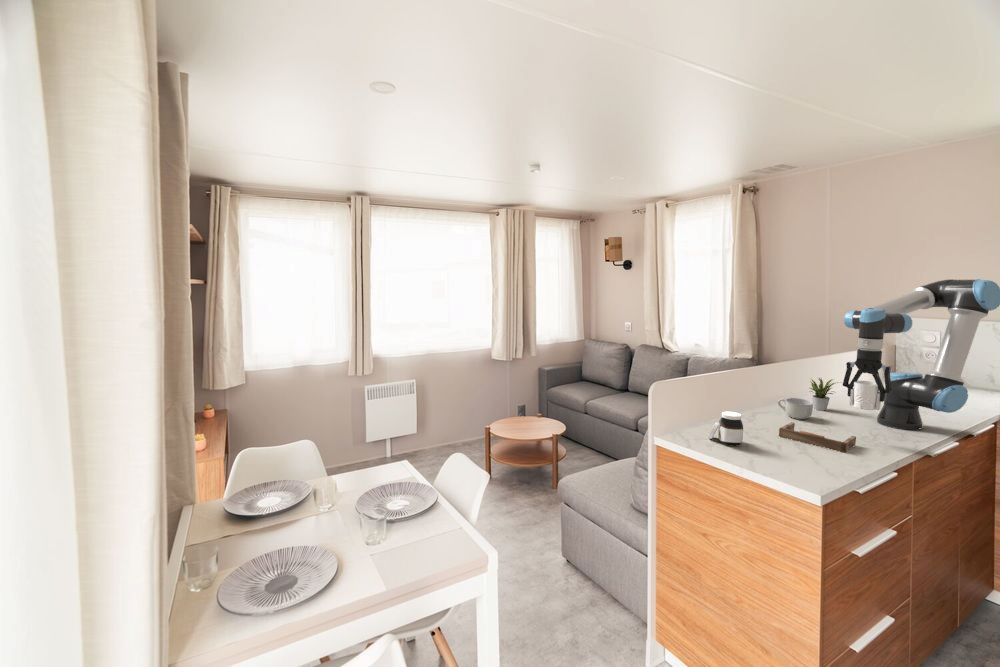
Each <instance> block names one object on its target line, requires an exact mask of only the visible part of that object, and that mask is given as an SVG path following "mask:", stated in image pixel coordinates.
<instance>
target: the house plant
mask: <svg viewBox="0 0 1000 667" xmlns="http://www.w3.org/2000/svg"><path fill="white" fill-rule="evenodd" d="M810 380H811V381H809V382H810V383H811V384H810V385H811V387H809V389H810V390H809V392H812V393H813V394H814V395H812V397H811V398H812V402H813V408H814V409H813V410H815V409H816V411H819V410H823V411H822V412H825V411H824V410H826V411H827V409H828V406H829V402H830V397H829V396H827V395H834V394H837V393H836V391H834V390H832V386H834V385H835V384H838V383H841V384H842V382H841V381H840V382H837V381H836V382H832V381H834V380H835V378H831V379H829V380H828V381H827V382H825V383H826V384H825V386H824V380H823V379H822V377H818V381H819V384H817V382H816V381H814V380H813V379H812V378H810ZM830 390H832V391H830Z"/></svg>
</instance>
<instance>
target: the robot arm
mask: <svg viewBox="0 0 1000 667" xmlns="http://www.w3.org/2000/svg"><path fill="white" fill-rule="evenodd" d="M999 307H1000V286H999V284H997V283H996V282H995V281H993V280H990V279H987V280H986V279H980V278H979V279H943V280H938V281H935V282H931V283H928V284H924V285H921V286H919V287H916V288H914V289H912V290H911V292H908V293H906V294H904V295H901V296H898V297H895V298H893V299H890V300H887V301H884V302H882V303H879V304H876V305H873V306H870V307H867V308H865V309H862V310H850V311H849V310H848V311H847V312H846V313H845V314H844V316H843V324H844V325H845V327H847V328H849V329H854V330H858V338H857V348H858V349H857V351H856V360H855V361H847V362H846V363H845V364H846V365H845V366H846V370H845V374H844V378H843V382H842V387H845V388H847V397H849V398H850V399H849V406H854V382H857V381H859V379H860V377H861V376H862V374H869V375H870V374H871V376H872V377H873V379H874V382H876V384H877V385H878V389H879V393H877V401H876V409H875V410H876V411H879V410H880V411H879V412H878V415H877V418H876V421H877V422H876V423H878V424H880V425H882V424H883V426H885V425H886V426H885V427H889V426H890V428H893V427H895V428H894V429H899V428H901V430H906V429H919V428H922V429H923V424H924V423H923V420H922V417H921V413H920V410H919V409H920V407H921V408H926V409H930V410H934V411H937V412H943V413H947V414H948V413H949V414H950V413H955V412H957V411H959V410H960V409H962V408H963V407H964V406H965V405H966V403H967V401H968V399H969V394H968V393H969V392H968V389H967V388H966V387H965V386H964V384H965V382H964V380H963V379H962V373H963V370H964V368H965V365H966V361H967V359H968V356H969V353H970V350H971V348H972V344H973V342H974V339H975V336H976V334H977V330H978V327H979V324H980V322H981V319H984V318H985V317H988V314H989V311H994V310H997V309H998V308H999ZM931 308H947V312H948V313H949V314H950V317H949V318H948V323H947V325H946V328H945V331H944V334H943V338H942V340H941V344H940V345H939V350H938V352H937V355H936V357H935V360H934V363H933V367H932V370H930V371H928V372H926V373H925V374H924V376H923V374H922V373H920V372H891V369H892V366H890V365H884V364H883V363H882V358H883V357H882V356H883V351H882V350H883V349H884V348H883V347H884V336H885V334H900V333H906V332H908V331H910V330H911V328H912V327H913V320H912V317H911V316H910V315H909V314H910V313H913V312H915V311H918V310H929V309H931ZM854 366H855V367H857V371H856V373H855V375H854V376H853V378H852V379H851V375H852V371H853V368H855V367H854ZM880 369H882V371H883V375H884V376H883V377H884V383H883V382H882V378H881V376H880V373H879V370H880ZM850 380H851V381H850ZM884 384H885V385H884ZM884 386H885V387H884ZM881 403H883V406H882V407H881Z"/></svg>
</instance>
